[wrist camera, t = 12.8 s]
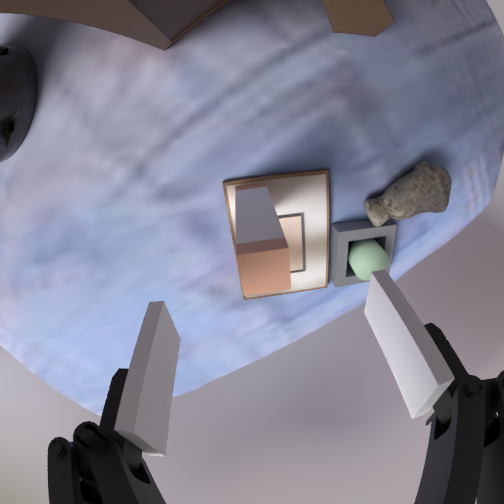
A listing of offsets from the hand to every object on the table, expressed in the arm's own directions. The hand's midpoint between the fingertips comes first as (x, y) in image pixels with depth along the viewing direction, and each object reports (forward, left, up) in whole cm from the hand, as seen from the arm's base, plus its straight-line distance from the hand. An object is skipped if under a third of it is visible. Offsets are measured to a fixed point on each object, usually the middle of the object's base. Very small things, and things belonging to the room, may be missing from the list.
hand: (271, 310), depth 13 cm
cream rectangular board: (+5, +3, -16) cm, 17 cm away
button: (+8, +12, -16) cm, 21 cm away
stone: (+1, +17, -16) cm, 23 cm away
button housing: (+8, +12, -16) cm, 21 cm away
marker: (0, 0, -15) cm, 15 cm away
